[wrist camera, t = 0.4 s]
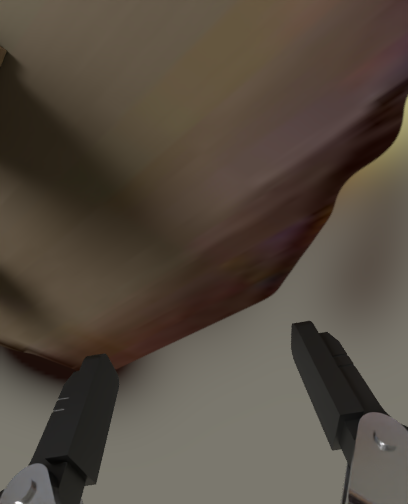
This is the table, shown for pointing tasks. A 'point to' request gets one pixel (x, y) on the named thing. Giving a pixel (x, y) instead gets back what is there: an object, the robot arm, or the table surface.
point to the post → (2, 54)
